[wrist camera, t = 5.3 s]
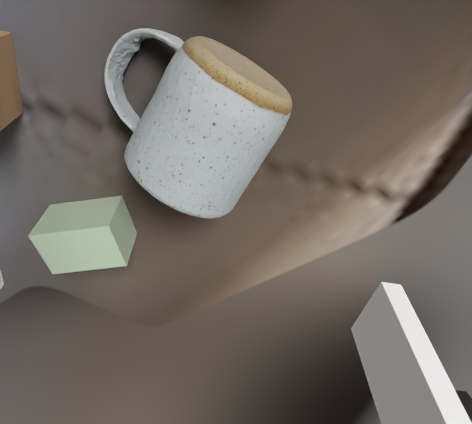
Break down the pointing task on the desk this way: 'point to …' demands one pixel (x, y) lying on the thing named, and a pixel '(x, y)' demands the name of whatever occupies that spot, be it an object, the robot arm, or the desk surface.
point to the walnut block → (8, 82)
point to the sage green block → (85, 235)
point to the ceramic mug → (198, 122)
